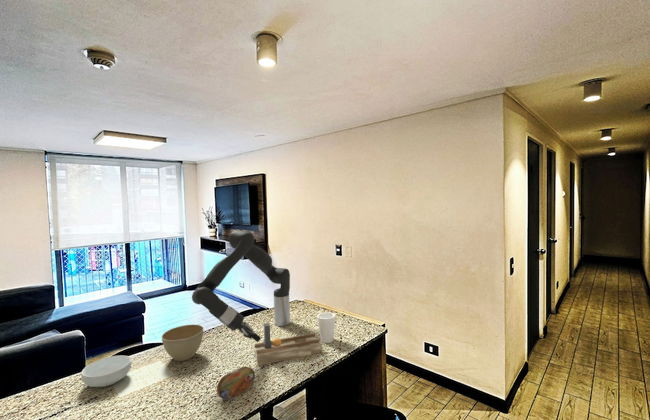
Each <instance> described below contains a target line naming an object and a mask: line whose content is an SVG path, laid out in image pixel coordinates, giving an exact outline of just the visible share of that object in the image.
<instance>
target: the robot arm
mask: <svg viewBox="0 0 650 420" xmlns="http://www.w3.org/2000/svg"><path fill="white" fill-rule="evenodd" d="M228 243H229V245H230V247H232V248H233V249H234V250H233V251H232V252H231V253H230V254H229V255H227V256H225V257H223V258H222V259H221V260H219V261H218V262H217V263H216V264H215V265H214V266H212V268H211V270H210V271H209V273H208V274H207V275H206V277H205V278H204V279H203V280H202V281H201V282H200V284H198V286H197V287H196V288H195V290H194V291H192V295H191V300H192V302H193V303H194V304H196V305H201V306H203V307H204V308H205V309H207V310H208V312H209V313H210V314H211V315H212V316H214V317H215V318H216V319H217V320H218V321H220V323H222V325H224V326H226V328H228V329H229V330H231V331H233V332H234V331H237V330H238V332H239V333H240V334H243V335H242V336H243V337H244V338H247V339H252V340H254V341H255V342H257V343H260V340H261V339H262V337H261V336H260V335H259V334H257V333H256V331H255V330H254V329H253V328H252V326H251V325H249V324H248V322H247V321H244V319H245V317H244V315H242V314H241V313H240V312H239V311H237V310H236V309H235V308H234V307H232V306H231V305H229V304H228V303H226V302H225V301H223V300H222V299H221V298H220V297H219V296H218V295H217V294H216V293H215V292H214V291H215V290H216V288H218V287H219V286H220V285H221V283H222V282H223V281H224V279H225V278H226V277H227V275H228V274H229V272H230V271H231V270H232V269H233V268H234V267H235V266H236V264H237V263H239V262H240V261H241V259H243V257H245V258H246V259H247V260H248V261H250V263H252V264H253V265H254V266H255V267H256V268H257V269H259V270H260V272H262V274H264V275H265V276H266V277H267V278H268V280H269V281H271V283H272V284H277V285H280V287H279V288H276V289H274V290H273V310H274V311H273V312H274V313H273V314H274V316H273V317H274V325H275V326H277V327H285V326H288V325H290V324H291V310H290V308H291V307H290V288H291V274H290V273H291V272H290V270H289V269H287V268H282V267H275V266H274V265H273V259H272V257H271V255H270V254H268V252H267V251H266V250H264V249H263V248H261V247H259V246H257V245H255V237H254V235H253V234H252V233H251V232H248V231H244V230H233V231H232V232H230V234H229V236H228Z"/></svg>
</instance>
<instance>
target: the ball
mask: <svg viewBox="0 0 650 420" xmlns="http://www.w3.org/2000/svg"><path fill="white" fill-rule="evenodd" d="M280 339H281V338H280V337H275V338H274V339H273V340H272V341H273V345H274V346H275V347H276V346H280V345H281V340H280Z"/></svg>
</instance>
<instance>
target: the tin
mask: <svg viewBox="0 0 650 420" xmlns="http://www.w3.org/2000/svg"><path fill="white" fill-rule="evenodd" d="M255 378H256V375H255V371H254V369H253V368H251V367H249V366H241V367H239V368H237V369H235V370H234V371H232V372H229V373H227V374H225V375H223V376H222V377H221V379H220V380H219V381H218V384H217V386H216V392H217V395H218V397H219V398H220V399H221V400H223V401H228V400H229V401H230V400H232V399H233V398H235V397H238V396H239V395H240V394H242V393H244V392H246V391H247V390H249V389H251V387H252V386H253V384H254V381H255Z"/></svg>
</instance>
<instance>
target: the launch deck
mask: <svg viewBox="0 0 650 420" xmlns="http://www.w3.org/2000/svg"><path fill="white" fill-rule="evenodd" d="M279 339H280V340H281V345H280V346H276V347H275V346H274V345H273V340H270V341H271V348H266V349H264V341H263V342H262V341H261V342H257V343H254V348H253V349H254V351H253V352H254V356H255V361H256V363H257V364H256V365H257V366H263V365H266V364H267V365H268V364H271V363H272V364H273V363H276V362H281V361H282V362H283V361H285V360H286V361H287V360H290V359H297V358H301V357H305V356H310V355H315V354H321V353H322V344H321V342H320V341H321V338H317V337H316V333H315V332H312V333H307V334H301V335H295V336H290V337H284V338H279Z"/></svg>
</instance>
